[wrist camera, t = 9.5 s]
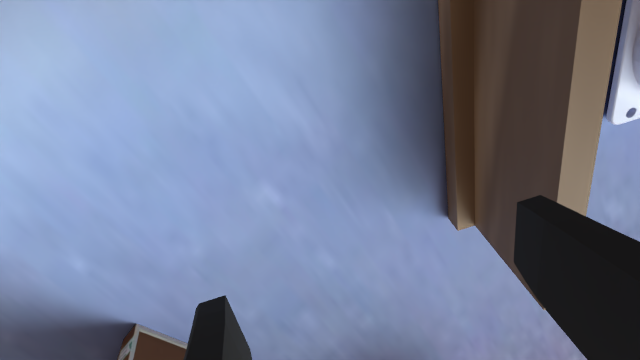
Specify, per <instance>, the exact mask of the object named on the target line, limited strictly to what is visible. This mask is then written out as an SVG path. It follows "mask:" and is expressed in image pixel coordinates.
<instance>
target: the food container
mask: <svg viewBox="0 0 640 360" xmlns="http://www.w3.org/2000/svg"><path fill="white" fill-rule="evenodd" d="M187 345H188V344H187V343H185V342H182V341H180V340H177V339H174V338H172V337H169V336H167V335H164V334H162V333H159V332H157V331H154V330H151V329H149V328H146V327H144V326H141V325H139V324H136V325H135V326H134V327H133V328H132V329H131V331H130V332H129V333H128V334H127V336H126V337H125V338H124V340H123V343H122V346H121V349H120V352H119V355H118V358H117V360H183V359H184V356H185V352H186V349H187Z"/></svg>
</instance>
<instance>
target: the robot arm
mask: <svg viewBox="0 0 640 360" xmlns="http://www.w3.org/2000/svg"><path fill="white" fill-rule="evenodd" d="M628 110H629V111H628ZM627 111H628V112H627ZM638 118H640V0H627V1H626V7H625V13H624V18H623V24H622V30H621V36H620V41H619V47H618V53H617V59H616V64H615V70H614V76H613V81H612V87H611V93H610V99H609V104H608V110H607V120H608V121H609V122H611V123H612V124H614V125H619V124H622V123H625V122H629V121H632V120H635V119H638ZM513 262H514V264H515V265H516V267H517V269H518V270H519V272H520V274H521V275H522V277H523V278H524V280H525V282H526V283H527V285H528V286H529V288H530V289H531V291H532V292H533V294H534V295H535V297H536V298H537V299H538V301H539V302H540V303H541V304H542V306H543V307H544V308H545V309H546V311H547V312H548V313H549V314H550V315H551V317H552V318H553V319H554V320H555V321H556V323H557V324H558V325H559V326H560V327H561V329H562V330H563V331H564V332H565V333H566V335H567V336H568V337H569V338H570V339H571V341H572V342H573V343H574V344H575V345H576V347H577V348H578V349H579V350H580V351H581V353H582V354H583V355H584V356H585V357H586V358H587V360H640V242H639V241H637V240H635V239H632V238H630V237H628V236H626V235H624V234H622V233H619V232H617V231H615V230H613V229H611V228H609V227H607V226H605V225H602V224H600V223H598V222H596V221H594V220H592V219H590V218H588V217H586V216H584V215H582V214H580V213H578V212H576V211H574V210H571V209H569V208H567V207H565V206H563V205H561V204H559V203H557V202H555V201H553V200H551V199H548V198H546V197H544V196H542V195H538V196H535V197H532V198H529V199H526V200H523V201H519V202H517V211H516V228H515V245H514V261H513ZM183 360H252V357H251V352H250V348H249V346H248V344H247V342H246V339H245V337H244V335H243V333H242V331H241V329H240V326H239V324H238V322H237V320H236V318H235V315H234V313H233V311H232V309H231V307H230V304H229V302H228V300H227V298H226V296H222V297H218V298H215V299H212V300H209V301H206V302H203V303H200V304H199V305H198V306H197V308H196V311H195V316H194V321H193V325H192V329H191V333H190V337H189V341H188V345H187V349H186V352H185V356H184V359H183Z"/></svg>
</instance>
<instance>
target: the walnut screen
mask: <svg viewBox="0 0 640 360" xmlns="http://www.w3.org/2000/svg"><path fill="white" fill-rule="evenodd" d="M621 6H622V0H438V8H439V29H440V51H441V72H442V93H443V114H444V135H445V156H446V178H447V199H448V219H449V220H450V221H451V223H452V224H453V225H454V226H455V228H456V229H457V230H458V231H459V230H462V229H465V228H468V227H471V226H474V225H475V226H476V227H477V228H478V230H479V231H480V232H481V233H482V235H483V236H484V237H485V238H486V240H487V241H488V242H489V243H490V244H491V246H492V247H493V248H494V249H495V251H496V252H497V253H498V254H499V256H500V257H501V258H502V259H503V260H504V262H505V263H506V264H507V265H508V267H509V268H510V269H511V270H512V272H513V273H514V274H515V275H516V276H517V278H518V279H519V280H520V281H521V283H522V284H523V285H524V286H525V288H526V289H527V290H528V291H529V292H530V294H531V295H532V296H533V297H534V299H535V300H536V301H537V302H538V304H539V305H540V306H541V307H542V308H543V310H546V309H545V308H544V307H543V306H542V304H541V303H540V302H539V301H538V299H537V298H536V297H535V295H534V294H533V292H532V291H531V289H530V288H529V286H528V285H527V283H526V282H525V280H524V278H523V277H522V275H521V274H520V272H519V270H518V269H517V267H516V265H515V264H514V262H513V261H514V245H515V228H516V211H517V202H519V201H523V200H526V199H529V198H532V197H535V196H538V195H542V196H544V197H546V198H548V199H551V200H553V201H555V202H557V203H559V204H561V205H563V206H565V207H567V208H569V209H571V210H574V211H576V212H578V213H580V214H582V215H584V216H586V212H587V206H588V201H589V195H590V189H591V183H592V177H593V171H594V165H595V159H596V153H597V147H598V142H599V136H600V130H601V124H602V118H603V112H604V106H605V100H606V94H607V88H608V82H609V77H610V71H611V65H612V59H613V53H614V47H615V41H616V35H617V29H618V23H619V18H620V12H621Z"/></svg>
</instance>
